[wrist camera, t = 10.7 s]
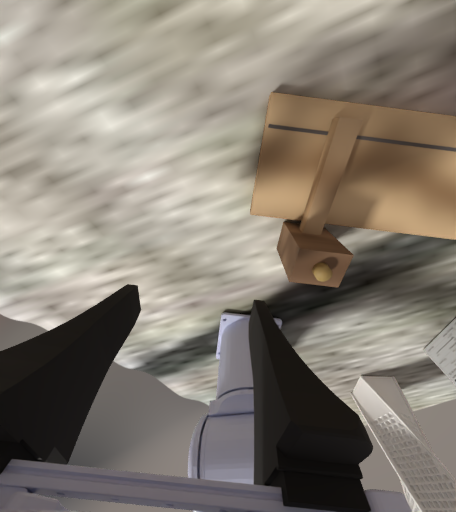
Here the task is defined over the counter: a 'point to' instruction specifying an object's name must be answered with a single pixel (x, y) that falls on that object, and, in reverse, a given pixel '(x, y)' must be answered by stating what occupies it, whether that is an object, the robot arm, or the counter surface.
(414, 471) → the skyscraper
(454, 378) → the light bulb box
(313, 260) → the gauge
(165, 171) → the counter surface
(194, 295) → the counter surface
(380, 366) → the counter surface
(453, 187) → the board
